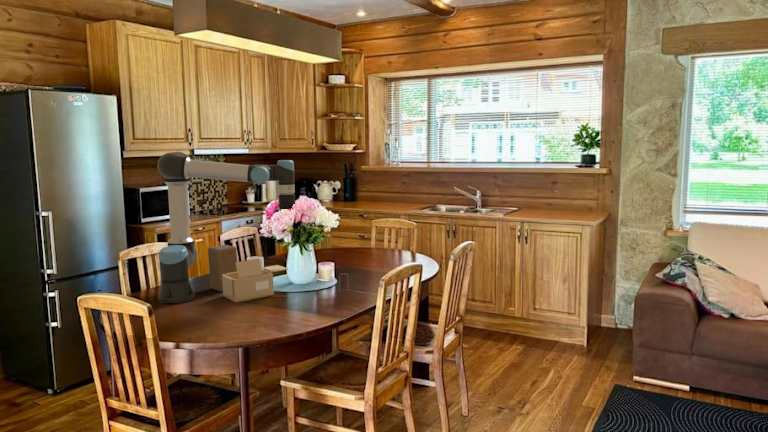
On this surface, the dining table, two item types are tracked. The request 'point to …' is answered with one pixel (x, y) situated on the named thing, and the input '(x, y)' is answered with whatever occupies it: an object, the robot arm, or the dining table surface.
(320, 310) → the dining table surface
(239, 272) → the front flap
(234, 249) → the wooden block
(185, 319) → the dining table surface
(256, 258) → the cup
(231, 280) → the carton
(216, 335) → the dining table surface
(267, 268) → the right flap
